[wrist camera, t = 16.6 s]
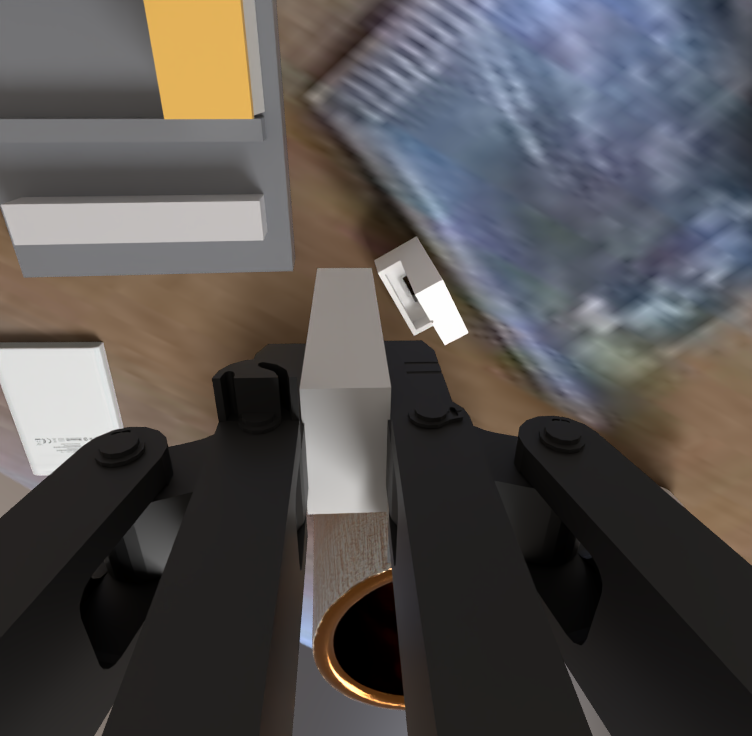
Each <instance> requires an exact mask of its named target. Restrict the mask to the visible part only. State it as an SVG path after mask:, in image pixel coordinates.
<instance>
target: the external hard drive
mask: <svg viewBox="0 0 752 736" xmlns="http://www.w3.org/2000/svg"><path fill="white" fill-rule="evenodd" d="M0 384H1V387H2V390H3V392H4V395H5V398H6V401H7V403H8V406H9V409H10V411H11V414H12V417H13V420H14V422H15V425H16V428H17V431H18V433H19V436H20V439H21V442H22V444H23V447H24V449H25V452H26V455H27V458H28V460H29V463H30V466H31V469H32V471H33V474H34V475H38V476H41V475H50V474H51V473H52V472H53V471H55V470H56V469H57V468H58V467H59V466H60V465H61V464H63V463H64V462H65V461H66V460H67V459H68V458H69V457H71V456H72V455H73V454H74V453H75V452H76V451H77V450H79V449H80V448H81V447H82V446H83V445H85V444H86V443H88V442H89V441H91V440H92V439H94V438H95V437H98V436H100V435H103V434H105V433H108V432H110V431H112V430H116V429H122V428H124V427H123V423H122V419H121V415H120V411H119V406H118V402H117V398H116V394H115V390H114V385H113V381H112V377H111V373H110V369H109V365H108V361H107V356H106V352H105V348H104V344H103V342H0Z"/></svg>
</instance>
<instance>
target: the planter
mask: <svg viewBox="0 0 752 736" xmlns="http://www.w3.org/2000/svg"><path fill="white" fill-rule="evenodd" d="M388 519H389V508H388V509H387V512H367V513H335V514H314V577H313V635H312V647H313V656H314V660H315V663H316V666H317V668H318V670H319V671H320V673H321V675H322V676H323V677H324V678H325V680H326V681H327V682H328V683H329V684H330V685H331V686H332V687H334V688H335V689H336V690H337V691H339V692H340V693H342V694H344V695H345V696H347V697H349V698H351V699H354V700H356V701H358V702H361V703H364V704H367V705H371V706H375V707H380V708H385V709H392V710H405V701H404V691H403V681H402V670H401V660H400V650H399V640H398V630H397V619H396V609H395V599H394V589H393V578H392V568H391V563H387V550H388Z"/></svg>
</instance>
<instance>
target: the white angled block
mask: <svg viewBox="0 0 752 736" xmlns="http://www.w3.org/2000/svg"><path fill="white" fill-rule="evenodd" d="M374 261H375V265H376V268H377V272H378V274H379V276H380V278H381V280H382V281H383V283H384V285H385V286H386V288H387V290H388V292H389V293H390V295H391V297H392V299H393V300H394V302H395V304H396V306H397V307H398V309H399V311H400V312H401V314H402V316H403V318H404V319H405V321H406V323H407V325H408V326H409V328H410V330H411V331H412V333H413V335H414V336H415V335H417V334H419V333H420V332H422V331H424V330H426V329H428V328H430V327H432V326H434V328H435V329H436V331H437V333H438V335H439V336H440V338H441V340H442V341H443V343H444V345H446V344H448V343H450V342H452V341H454V340H456V339H458V338H460V337H462V336H464V335H466V334H467V333H468V331H467V329H466V327H465V325H464V322H463V320H462V318H461V316H460V314H459V312H458V310H457V308H456V306H455V304H454V302H453V300H452V298H451V296H450V294H449V292H448V290H447V287H446V285H445V283H444V281H443V279H442V278H441V276H440V274H439V273H438V271H437V269H436V268H435V266H434V264H433V263H432V261H431V259H430V258H429V256H428V254H427V253H426V251H425V249H424V248H423V246H422V244H421V243H420V241H419V239H418V238H417V236H416V237H414V238H413V239H411V240H409V241H407V242H405V243H404V244H402V245H400V246H398V247H397V248H395V249H393V250H391V251H390V252H388V253H386V254H384V255H383V256H381V257H379V258H377V259H376V260H374ZM405 276H407V277H408V280H409V282H410V284H411V287H412V289H413V291H414V295H413V296H412V294H411V292H410V290H409V288H408V287H407V285H406V283H405V281H404V279H403V278H404V277H405Z"/></svg>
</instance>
